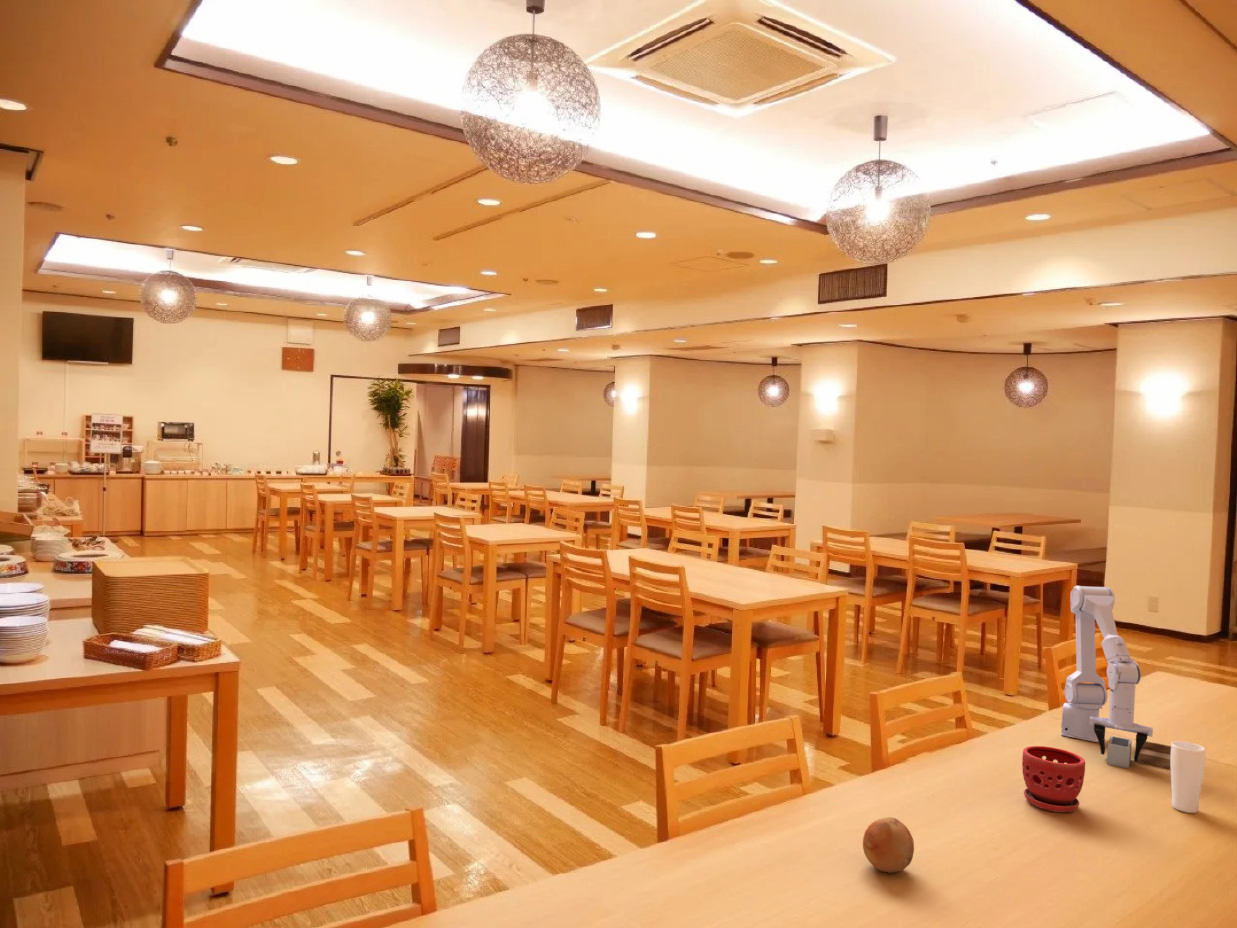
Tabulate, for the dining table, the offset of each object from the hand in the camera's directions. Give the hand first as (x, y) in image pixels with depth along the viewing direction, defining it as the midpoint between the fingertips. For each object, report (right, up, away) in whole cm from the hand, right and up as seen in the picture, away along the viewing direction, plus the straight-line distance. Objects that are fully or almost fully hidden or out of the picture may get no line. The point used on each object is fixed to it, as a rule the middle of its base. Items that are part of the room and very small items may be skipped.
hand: (1119, 756), depth 230 cm
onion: (-82, -1, -62) cm, 102 cm away
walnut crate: (+12, -2, +3) cm, 12 cm away
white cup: (-2, -3, -29) cm, 29 cm away
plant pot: (-33, -2, -29) cm, 43 cm away
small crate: (0, -1, 0) cm, 1 cm away
